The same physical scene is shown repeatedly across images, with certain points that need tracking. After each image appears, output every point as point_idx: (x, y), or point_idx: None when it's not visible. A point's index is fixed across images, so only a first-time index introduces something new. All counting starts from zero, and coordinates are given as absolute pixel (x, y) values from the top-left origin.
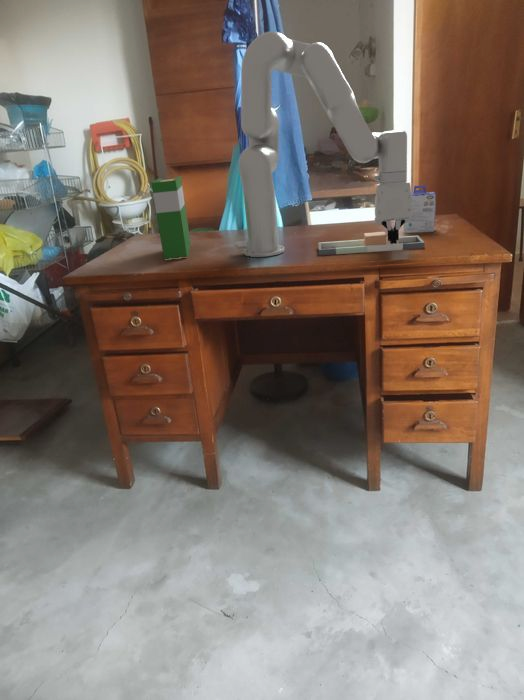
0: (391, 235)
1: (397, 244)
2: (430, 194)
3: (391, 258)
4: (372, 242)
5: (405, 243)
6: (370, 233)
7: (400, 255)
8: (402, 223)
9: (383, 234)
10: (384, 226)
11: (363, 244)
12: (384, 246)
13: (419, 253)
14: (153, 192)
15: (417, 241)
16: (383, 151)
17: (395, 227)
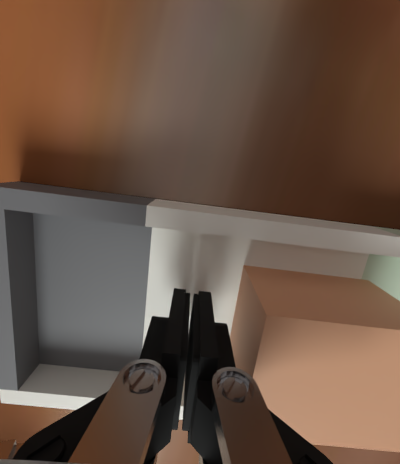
0: (211, 326)
1: (188, 209)
2: None
3: (284, 5)
4: (353, 298)
5: (125, 211)
6: (361, 422)
7: (201, 76)
8: (65, 431)
9: (282, 344)
10: (291, 429)
11: None
12: (280, 220)
13: (67, 80)
14: None
15: (30, 327)
16: None
17: (163, 399)
